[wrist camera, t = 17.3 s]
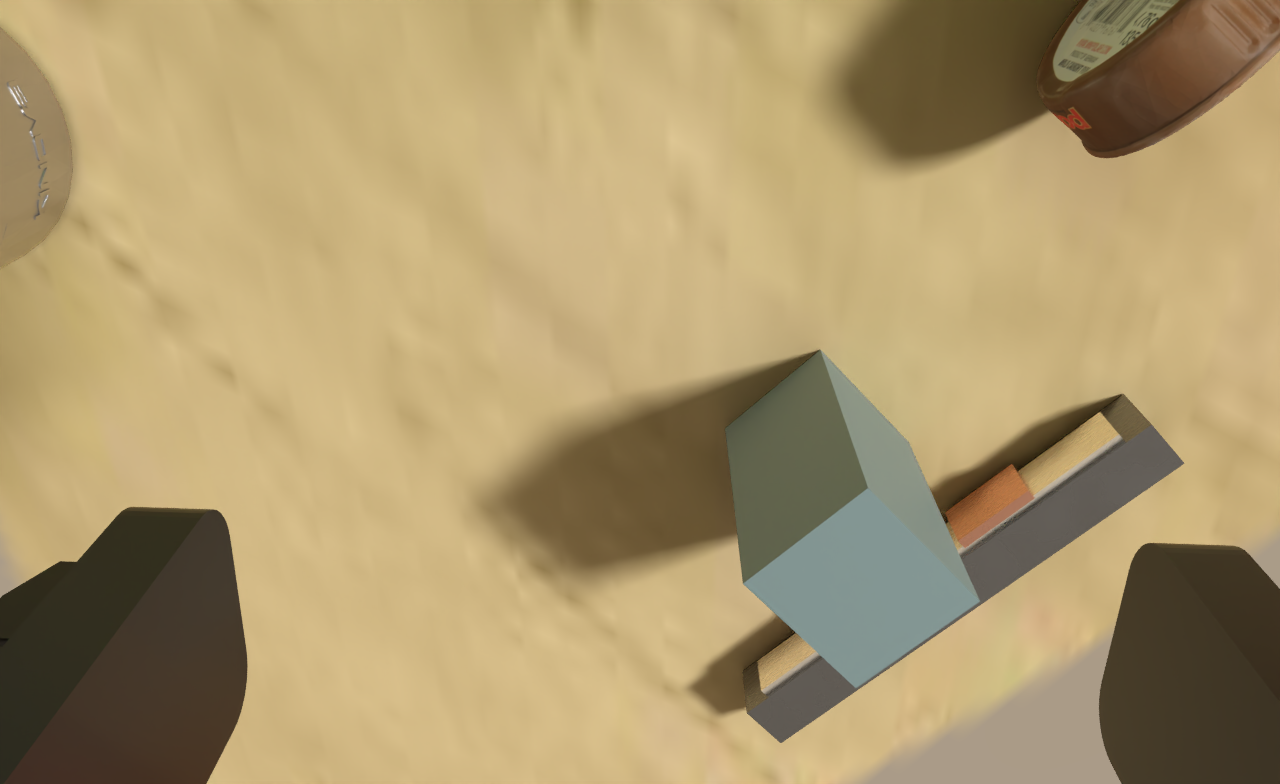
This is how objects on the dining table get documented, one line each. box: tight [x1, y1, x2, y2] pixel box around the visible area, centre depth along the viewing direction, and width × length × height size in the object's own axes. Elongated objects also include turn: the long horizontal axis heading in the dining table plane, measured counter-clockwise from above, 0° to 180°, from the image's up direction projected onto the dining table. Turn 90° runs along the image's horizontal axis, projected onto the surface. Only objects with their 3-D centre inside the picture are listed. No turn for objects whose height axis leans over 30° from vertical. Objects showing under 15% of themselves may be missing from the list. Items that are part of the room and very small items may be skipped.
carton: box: [725, 350, 980, 688], centre depth 36 cm, size 5×4×10 cm
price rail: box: [743, 394, 1184, 743], centre depth 41 cm, size 18×3×2 cm, turn 134°
